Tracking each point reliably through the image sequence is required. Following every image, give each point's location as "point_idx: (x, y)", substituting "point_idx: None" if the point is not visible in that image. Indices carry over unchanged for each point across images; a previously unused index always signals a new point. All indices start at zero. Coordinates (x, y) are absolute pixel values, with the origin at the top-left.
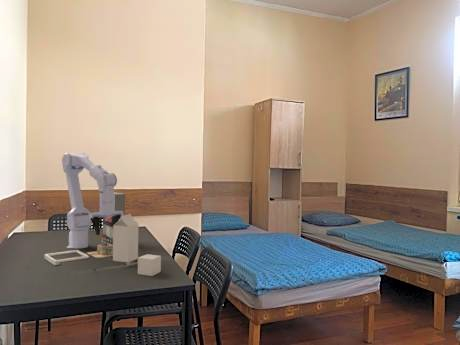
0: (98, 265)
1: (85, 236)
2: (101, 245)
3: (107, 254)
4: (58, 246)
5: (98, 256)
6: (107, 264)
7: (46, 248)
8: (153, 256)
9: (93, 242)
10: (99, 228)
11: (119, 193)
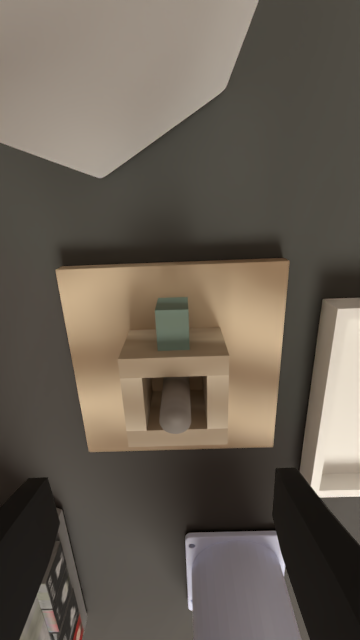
0: (351, 90)
1: (228, 636)
2: (198, 426)
3: None
4: None
5: (258, 303)
6: (278, 76)
7: None
8: None
9: (121, 632)
10: (327, 555)
11: None
